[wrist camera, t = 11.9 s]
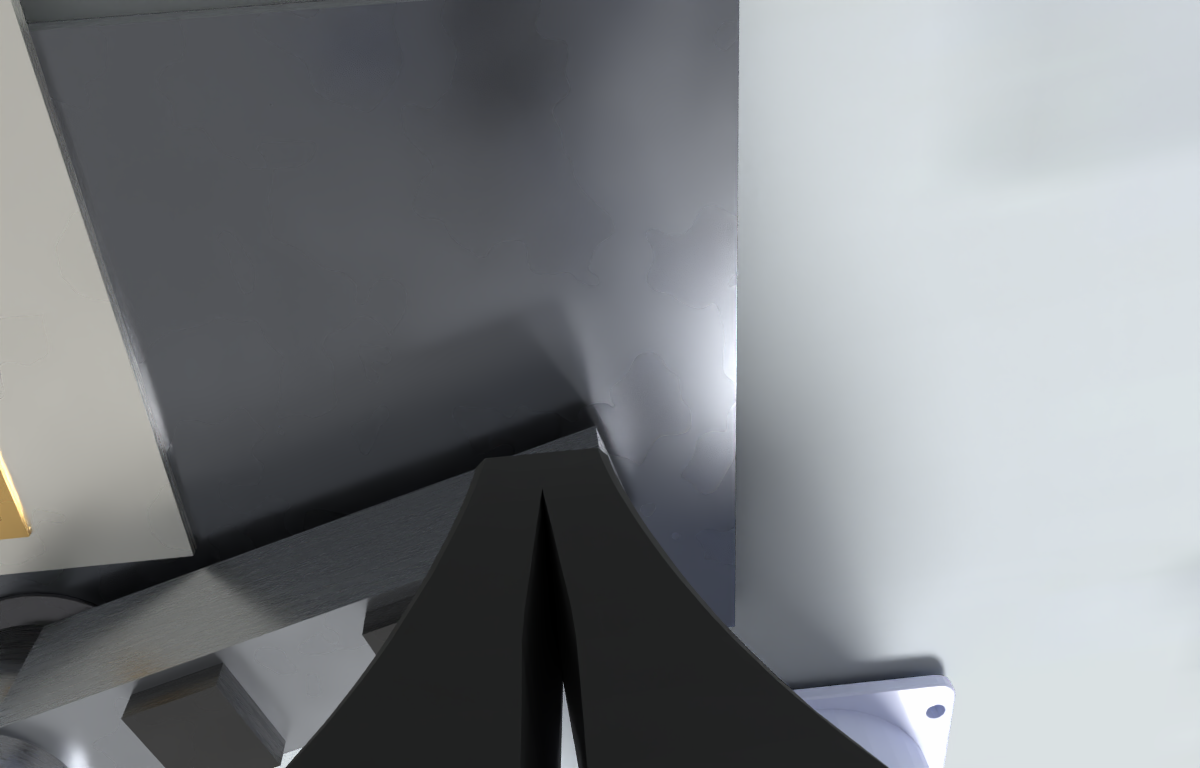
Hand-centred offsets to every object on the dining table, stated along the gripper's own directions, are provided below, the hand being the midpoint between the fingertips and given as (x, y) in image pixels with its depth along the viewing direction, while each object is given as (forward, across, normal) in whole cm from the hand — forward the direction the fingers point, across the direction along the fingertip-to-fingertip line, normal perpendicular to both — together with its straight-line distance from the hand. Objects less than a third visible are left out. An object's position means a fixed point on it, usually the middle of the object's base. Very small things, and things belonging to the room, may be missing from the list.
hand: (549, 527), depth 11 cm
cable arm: (+9, +6, +8) cm, 14 cm away
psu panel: (+10, +6, +4) cm, 13 cm away
